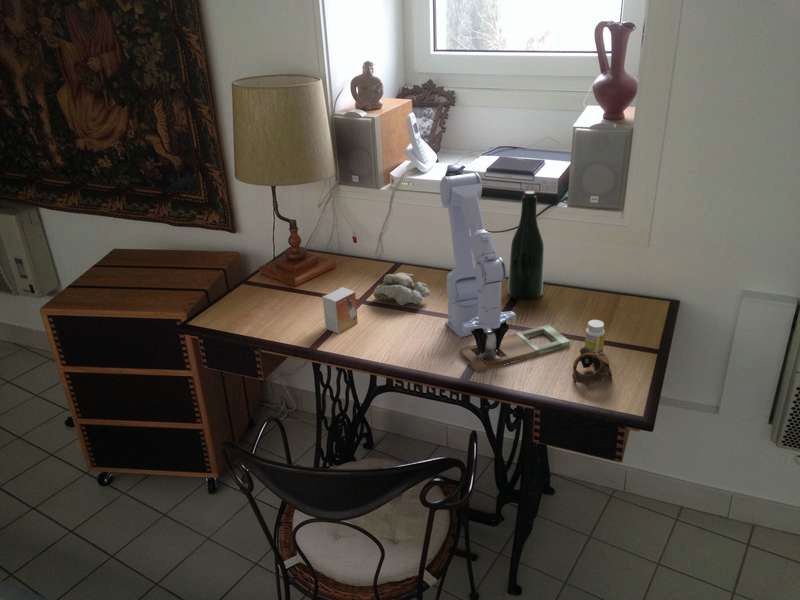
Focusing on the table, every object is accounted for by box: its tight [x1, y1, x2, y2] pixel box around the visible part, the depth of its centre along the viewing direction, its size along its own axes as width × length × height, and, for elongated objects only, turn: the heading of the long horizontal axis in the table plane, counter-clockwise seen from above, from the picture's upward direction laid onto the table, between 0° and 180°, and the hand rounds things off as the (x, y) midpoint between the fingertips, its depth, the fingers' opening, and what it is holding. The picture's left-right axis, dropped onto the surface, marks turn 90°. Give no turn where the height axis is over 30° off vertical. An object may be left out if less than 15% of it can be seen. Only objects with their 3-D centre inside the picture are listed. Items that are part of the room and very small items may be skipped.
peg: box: [480, 327, 497, 362], centre depth 177 cm, size 4×4×8 cm
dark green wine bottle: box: [507, 190, 545, 302], centre depth 202 cm, size 10×10×33 cm
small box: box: [322, 286, 359, 335], centre depth 195 cm, size 8×6×10 cm
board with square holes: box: [458, 324, 571, 373], centre depth 182 cm, size 10×28×2 cm, turn 114°
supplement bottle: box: [584, 319, 606, 356], centre depth 178 cm, size 5×5×8 cm
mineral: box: [373, 272, 431, 306], centre depth 208 cm, size 12×17×10 cm
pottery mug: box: [571, 346, 613, 386], centre depth 168 cm, size 12×10×8 cm
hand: (488, 349), depth 178 cm, fingers closed on peg, 4 cm apart
